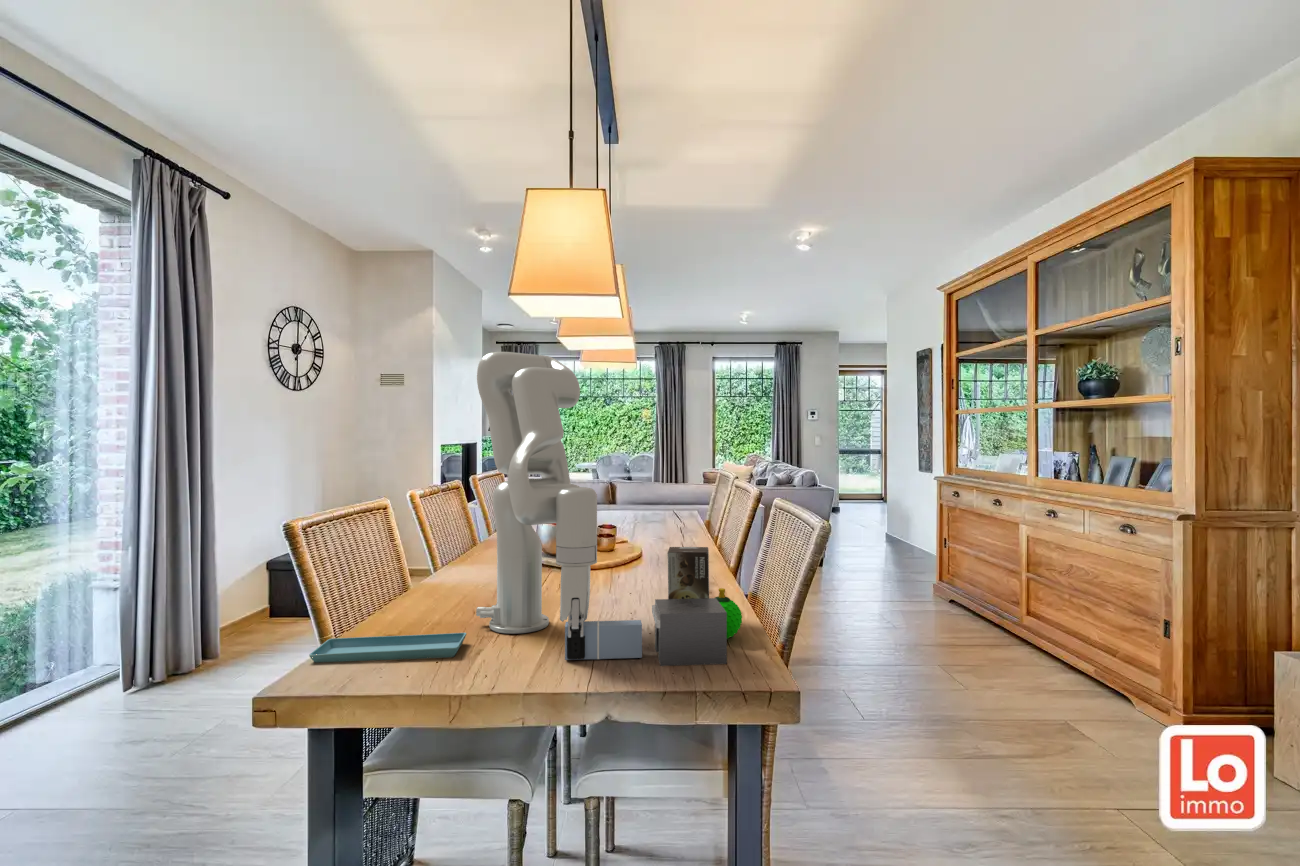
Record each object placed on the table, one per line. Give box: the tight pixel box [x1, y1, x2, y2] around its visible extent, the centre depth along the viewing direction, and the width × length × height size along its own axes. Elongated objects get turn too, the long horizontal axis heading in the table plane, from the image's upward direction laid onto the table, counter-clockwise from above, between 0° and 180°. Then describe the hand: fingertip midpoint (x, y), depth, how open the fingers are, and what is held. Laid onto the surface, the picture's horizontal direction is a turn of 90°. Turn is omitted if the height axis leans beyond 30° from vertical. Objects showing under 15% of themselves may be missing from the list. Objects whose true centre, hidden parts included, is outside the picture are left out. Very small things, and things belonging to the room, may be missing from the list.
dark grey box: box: [651, 597, 728, 667], centre depth 114 cm, size 13×10×9 cm
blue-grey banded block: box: [564, 619, 643, 661], centre depth 113 cm, size 14×3×6 cm, turn 95°
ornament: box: [714, 587, 743, 640], centre depth 124 cm, size 8×8×10 cm
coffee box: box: [667, 546, 710, 599], centre depth 135 cm, size 9×6×16 cm
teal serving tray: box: [309, 632, 467, 663], centre depth 116 cm, size 26×9×2 cm, turn 96°
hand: (576, 653), depth 112 cm, fingers closed on blue-grey banded block, 3 cm apart
